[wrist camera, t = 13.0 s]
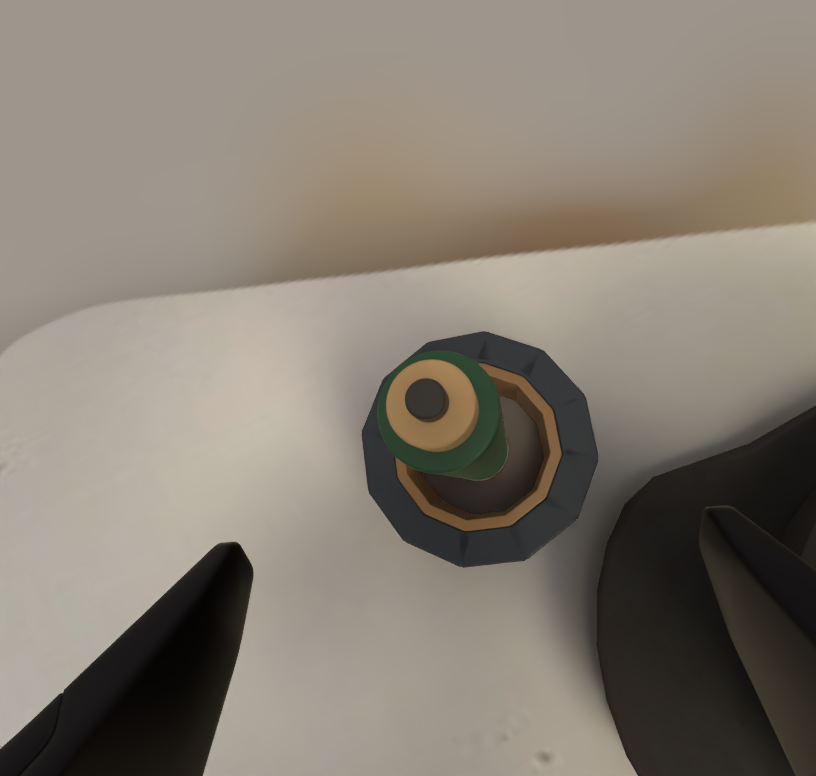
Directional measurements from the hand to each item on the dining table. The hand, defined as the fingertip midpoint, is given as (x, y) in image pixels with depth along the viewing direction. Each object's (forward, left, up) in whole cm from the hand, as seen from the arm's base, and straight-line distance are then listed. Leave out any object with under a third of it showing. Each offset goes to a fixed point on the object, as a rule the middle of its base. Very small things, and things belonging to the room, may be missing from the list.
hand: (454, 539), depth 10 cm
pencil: (+2, -1, -12) cm, 12 cm away
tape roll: (+2, -1, -12) cm, 12 cm away
